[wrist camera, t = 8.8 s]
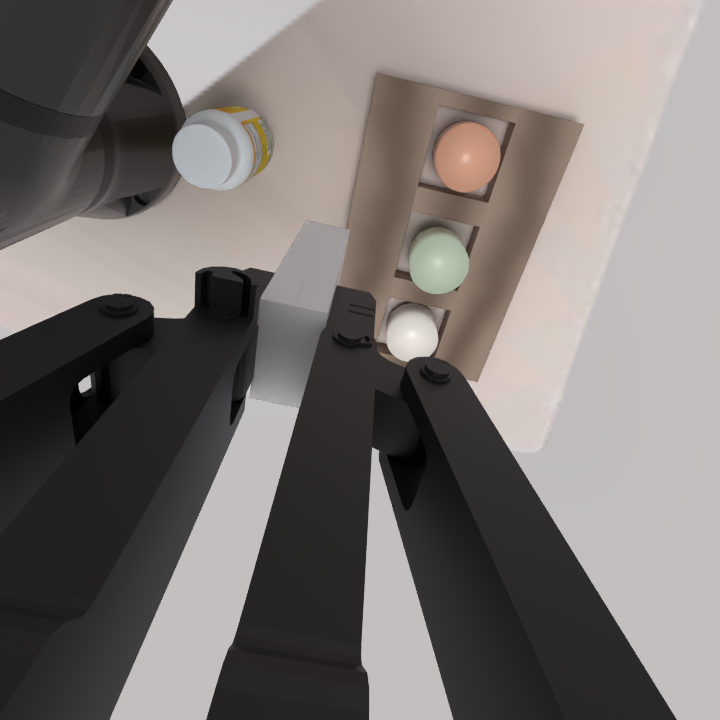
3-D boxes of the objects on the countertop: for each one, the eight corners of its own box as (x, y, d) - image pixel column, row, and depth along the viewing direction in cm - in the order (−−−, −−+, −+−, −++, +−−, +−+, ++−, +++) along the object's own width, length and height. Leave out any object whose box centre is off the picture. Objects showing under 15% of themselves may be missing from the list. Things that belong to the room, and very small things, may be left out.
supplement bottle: (286, 134, 38) (258, 149, 30) (253, 188, 41) (219, 216, 32) (228, 89, 37) (182, 92, 29) (198, 147, 39) (148, 166, 31)
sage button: (402, 274, 41) (402, 287, 39) (416, 221, 39) (418, 231, 36) (454, 285, 42) (458, 299, 39) (471, 233, 39) (477, 244, 37)
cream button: (381, 341, 47) (381, 356, 44) (393, 298, 45) (393, 311, 42) (427, 351, 47) (429, 366, 45) (441, 309, 45) (444, 323, 42)
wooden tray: (325, 340, 48) (323, 349, 46) (377, 73, 36) (377, 73, 34) (474, 371, 49) (477, 381, 47) (575, 122, 37) (584, 124, 35)
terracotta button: (425, 177, 39) (428, 184, 36) (442, 114, 36) (446, 116, 34) (480, 190, 39) (487, 198, 36) (501, 128, 37) (510, 132, 34)
